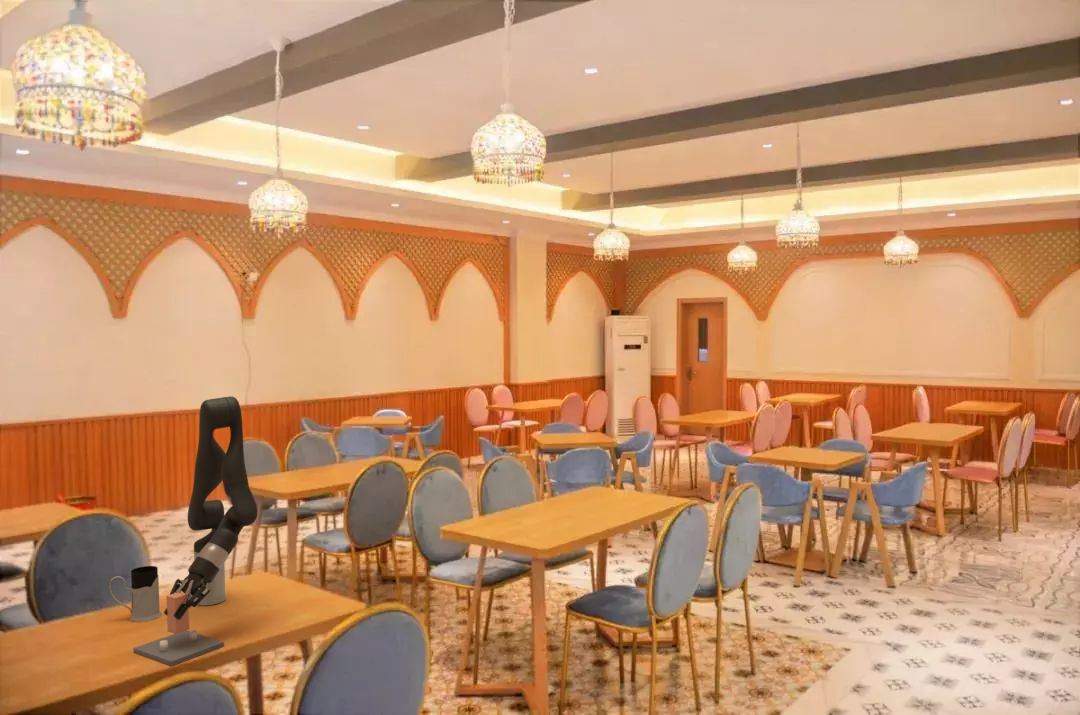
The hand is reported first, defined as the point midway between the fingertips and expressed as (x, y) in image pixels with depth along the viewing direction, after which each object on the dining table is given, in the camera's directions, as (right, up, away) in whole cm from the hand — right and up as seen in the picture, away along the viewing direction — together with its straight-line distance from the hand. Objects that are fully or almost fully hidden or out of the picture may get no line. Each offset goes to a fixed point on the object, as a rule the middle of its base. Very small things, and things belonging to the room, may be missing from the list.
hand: (171, 616), depth 229 cm
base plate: (+1, -10, +2) cm, 10 cm away
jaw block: (+1, -4, +2) cm, 5 cm away
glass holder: (-24, -10, +28) cm, 38 cm away
